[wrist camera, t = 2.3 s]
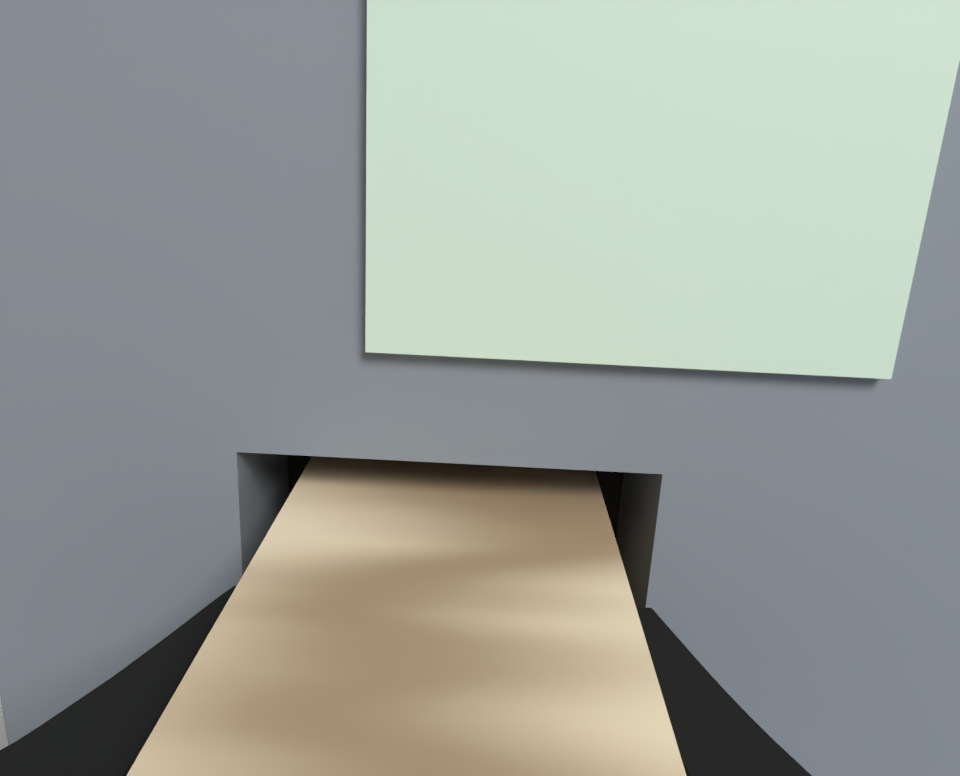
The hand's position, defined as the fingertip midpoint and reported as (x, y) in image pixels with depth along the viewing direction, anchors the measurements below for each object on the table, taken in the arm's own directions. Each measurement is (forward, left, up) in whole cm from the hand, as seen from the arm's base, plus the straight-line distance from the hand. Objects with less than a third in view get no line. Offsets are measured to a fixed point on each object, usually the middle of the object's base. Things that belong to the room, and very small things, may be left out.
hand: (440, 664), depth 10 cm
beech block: (0, 0, -3) cm, 3 cm away
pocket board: (-1, -3, -3) cm, 4 cm away
